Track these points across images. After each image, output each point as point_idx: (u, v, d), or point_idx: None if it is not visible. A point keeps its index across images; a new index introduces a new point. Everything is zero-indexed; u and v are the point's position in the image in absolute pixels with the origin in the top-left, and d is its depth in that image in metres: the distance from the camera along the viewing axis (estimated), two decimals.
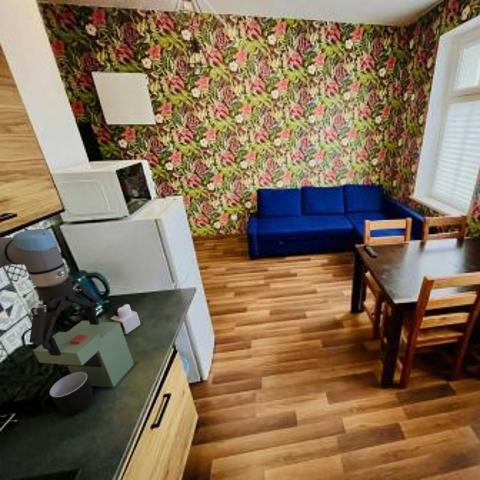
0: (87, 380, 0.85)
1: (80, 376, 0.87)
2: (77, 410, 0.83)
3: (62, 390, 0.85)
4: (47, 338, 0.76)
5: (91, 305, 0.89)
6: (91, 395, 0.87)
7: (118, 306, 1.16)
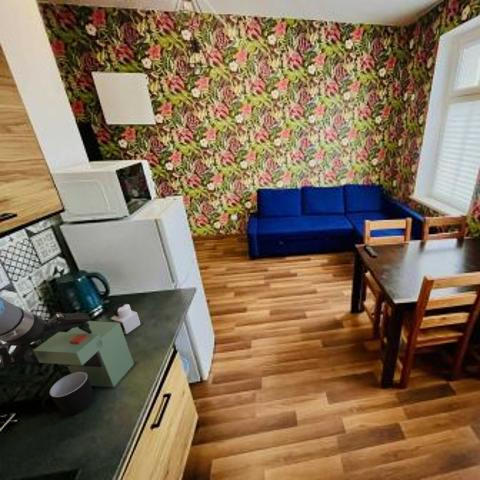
0: (87, 380, 0.85)
1: (80, 376, 0.87)
2: (77, 410, 0.83)
3: (62, 390, 0.85)
4: (17, 363, 0.74)
5: (78, 326, 0.81)
6: (91, 395, 0.87)
7: (118, 306, 1.16)
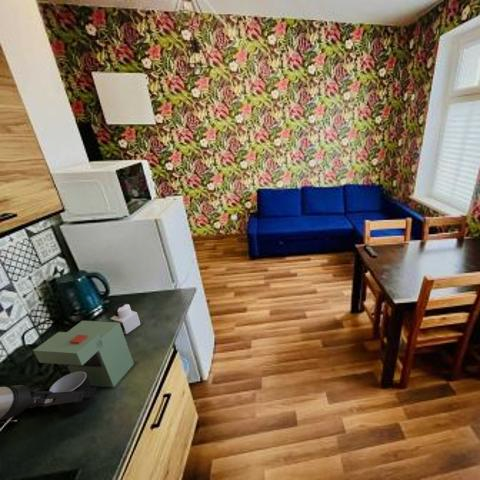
0: (86, 379, 0.85)
1: (80, 375, 0.87)
2: (77, 409, 0.83)
3: (62, 390, 0.85)
4: None
5: None
6: None
7: (118, 306, 1.16)
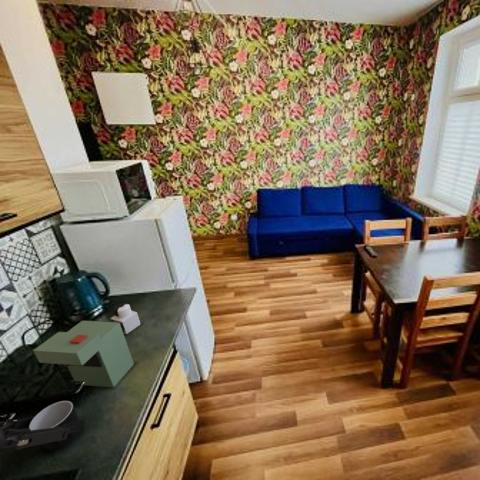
0: (72, 411, 0.76)
1: (65, 405, 0.78)
2: (61, 445, 0.74)
3: (44, 422, 0.76)
4: None
5: None
6: None
7: (118, 306, 1.16)
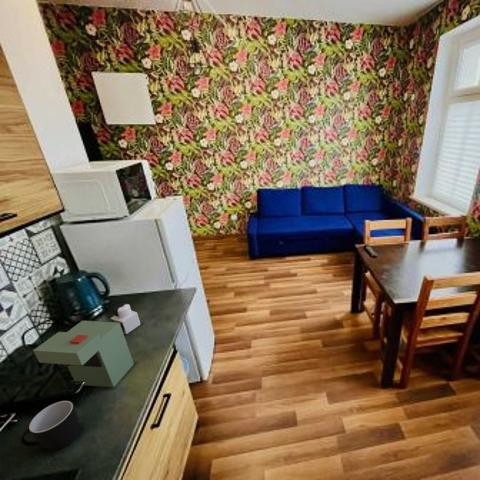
0: (72, 411, 0.76)
1: (65, 405, 0.78)
2: (61, 445, 0.74)
3: (44, 422, 0.76)
4: None
5: None
6: (77, 427, 0.78)
7: (118, 306, 1.16)
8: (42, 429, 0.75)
